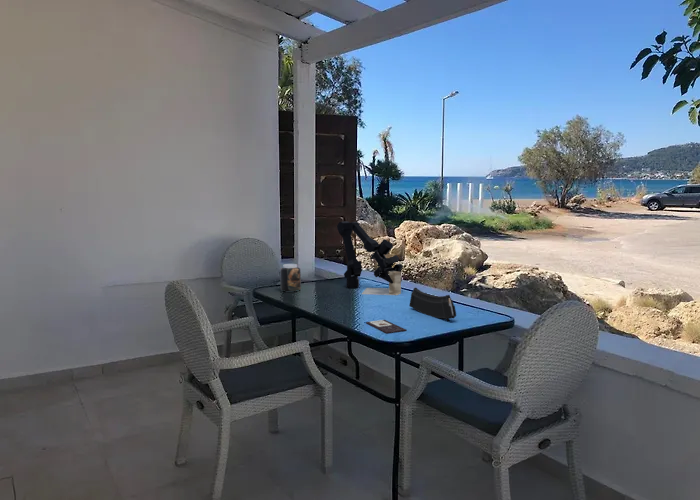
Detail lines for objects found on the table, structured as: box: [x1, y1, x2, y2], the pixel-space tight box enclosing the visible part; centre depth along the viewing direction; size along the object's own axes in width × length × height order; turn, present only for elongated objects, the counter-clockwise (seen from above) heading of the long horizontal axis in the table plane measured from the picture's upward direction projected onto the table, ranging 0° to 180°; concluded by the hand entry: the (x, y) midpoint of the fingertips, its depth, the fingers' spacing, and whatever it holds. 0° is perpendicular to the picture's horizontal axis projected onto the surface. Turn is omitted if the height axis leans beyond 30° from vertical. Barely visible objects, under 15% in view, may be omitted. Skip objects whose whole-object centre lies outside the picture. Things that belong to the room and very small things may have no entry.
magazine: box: [409, 287, 457, 322], centre depth 220 cm, size 17×3×30 cm
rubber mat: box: [361, 287, 400, 296], centre depth 273 cm, size 20×19×1 cm
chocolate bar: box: [365, 319, 407, 335], centre depth 200 cm, size 9×1×18 cm
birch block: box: [388, 271, 402, 296], centre depth 265 cm, size 4×4×12 cm
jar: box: [279, 263, 302, 291], centre depth 280 cm, size 12×12×15 cm
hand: (396, 282), depth 264 cm, fingers open, 7 cm apart
